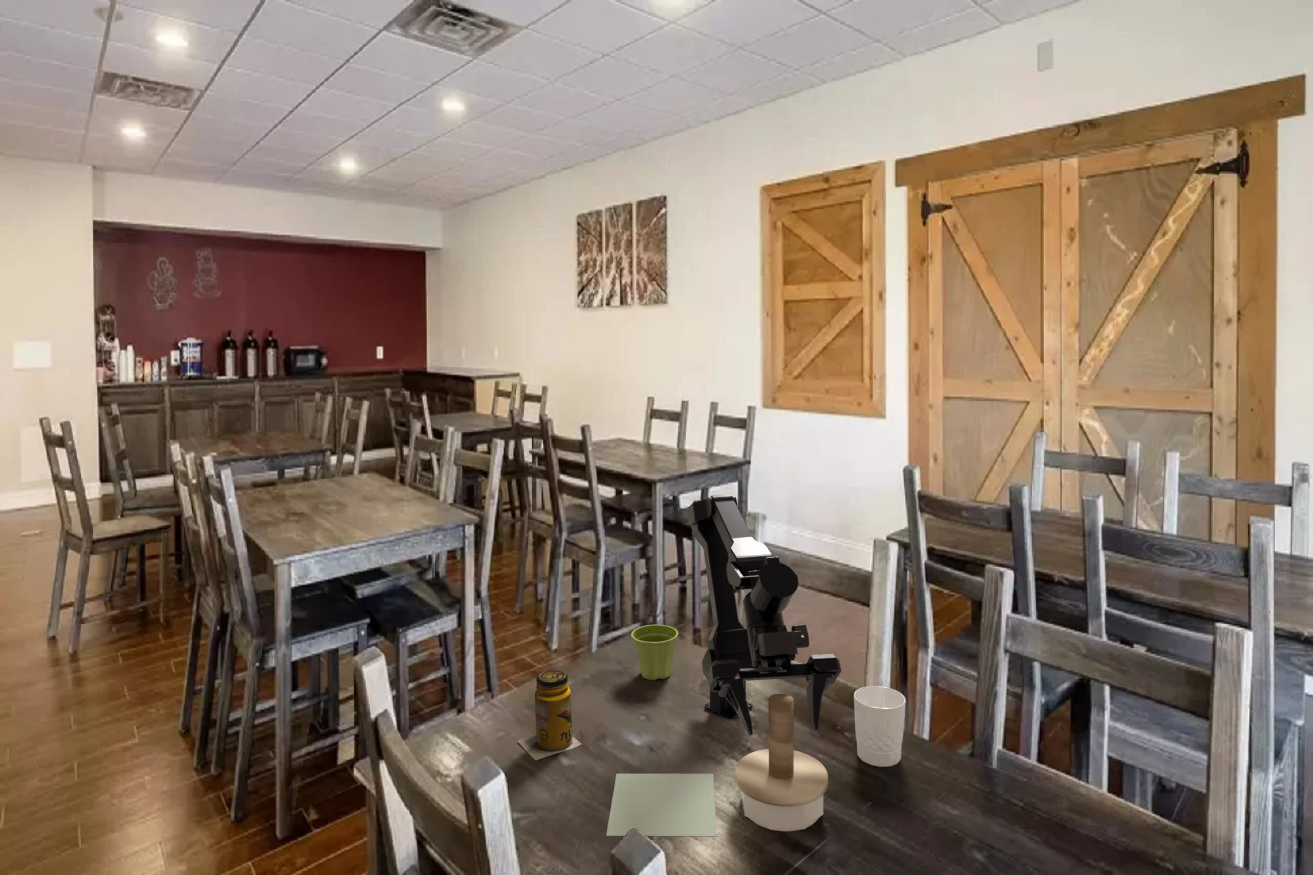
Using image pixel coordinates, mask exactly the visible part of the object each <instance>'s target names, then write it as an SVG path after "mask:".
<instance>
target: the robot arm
mask: <svg viewBox="0 0 1313 875" xmlns="http://www.w3.org/2000/svg"><path fill="white" fill-rule="evenodd" d="M738 506H739V505H738V499H737V496H735V495H733V494H730V493H729V494H715V495H714V494H713V495H710V496H708V497H706V498H705V499H700V500H699V499H697V500H693V502H692V503H691V504H690V505H689V506H688V507H687V509H686V510H687V512H686V516H687V523H688V524H689V526H691V531H692V537H693V538H695V540H696V541H697V542H698V544H699V545H700V546H701V547H702V550H703V556H704V563H705V569H706V579H707V587H708V592H709V599H710V608H711V614H712V622H713V627H712V630H711V632H710V635H709V637H708V639H707V649H706V651H705V654H704V655H703V658H702V660H701V666H702V674H703V676H704V677H705V678H706V681H708V689H709V702H707V703H705V704H704V709H706V710H709V711H711V712H713V713H715V714H718V715H720V716H723V717H724V718H727V719H734V718H736V717H737V716H738V718H739V720H740V721H741V724H742V725H743V727H744V729H745V731H746V732H747V734H748V736H749V737H751V736H753V734H754V733H753V732H754V731H753V730H754V729H753V723H752V718H751V714H750V709H752V708H753V705H754V704H753V703H752V702H749V701H747V682H746V681H765V680H766V681H767V680H779V679H780V680H785V679H797V678H798V679H799V678H805V681H806V682H807V683H808V684H807V686H806V689H805V691H806V692H805V693H806V696H807V697H806V698H807V705H808V711H809V717H810V718H809V720H810V723H811V727H812V731H813V732H815V733H816V732H817V731H818V728H819V723H820V715H821V706H822V705H821V704H822V698H823V694H824V692H825V691H826V690H828V688H829V686H831V685H833V684H834V683H835V682H836V681H837V679H838V677H839V676H840V674H841V672H842V667H841V662H840V659H839V658H838V657H837V656H836V655H835V654H834V653H826V654H824V653H823V654H810V656H809V658H808V660H807V662H806V663H795V664H794V663H792V661H795V659H796V655H798V654H799V653H798V649H803V648H809V646H810V635H809V632H808V626H807V624H794V625H792V626H791V628H790V629H791V630H790V631H788V629H787V625H786V624H785V621H784V617H783V616H784V615H783V612H784V611H785V610H786V608H787V607H788V605H789V604H790V603H791V602H790V601H791V600H792V598H793V597H794V595H795V593H796V592H797V589H798V587H799V577H798V574H796V572H795V571H794V569H792V568H791V567H790V566H788V565H787V564H785V563H782V562H781V561H780V557H779V555H778V556H773V554H772V552H771V551H770V550H769V548H768V546H766V545H765V544H763V543H761V542H759V541H757V540H755V539H754V537H753V535H752V533H751V531H750V529H749V527H748V525H747V523H746V522H745V519H744V517H743V515H742V513H741V512H740V509H739V507H738ZM746 590H750V591H748V593H746V595H745V596H744V598H743V600H742V607H743V612H744V613H743V614H744V619H745V624H746V628H745V626H743V624H742V623H741V622H740V620H739V615H738V608H737V607H738V606H737V601H736V595H735V594H736V593H735V591H746Z"/></svg>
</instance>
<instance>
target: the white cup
mask: <svg viewBox="0 0 1313 875" xmlns="http://www.w3.org/2000/svg"><path fill="white" fill-rule="evenodd" d="M853 702H854V703H853V704H854V724H855V725H854V730H855V739H856V749H857V757H858V758H859V759H860V760H861V761H862V762H863V763H865V764H868V765H871V766H876V767H879V768H884V767H886V768H887V767H892V766H895V765H897V764H898V763H900V761H901V760H902V744H903V738H904V730H905V713H906V703H907V702H906V697H905V696H904V695H903V693H901V692H900V691H898V690H895V689H894V688H891V687H885V686H881V685H867V686H863V687H860V688H858V689H856V690H855V691H854V693H853Z"/></svg>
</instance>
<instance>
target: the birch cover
mask: <svg viewBox="0 0 1313 875" xmlns="http://www.w3.org/2000/svg"><path fill="white" fill-rule="evenodd" d="M767 700H768V748H764V749H759V750H756V751H752V752H751V753H748V754H746V755H745V756H743V757H742V758H741V759H739V761H738V762H737V764H736V766H735V783H736V785H737V787H738V788H739V789H740V792H741V791H742V792H743V793H745V794H746V795H747V796H749V797H750V798H752V799H754V800H756V801H759V802H762V803H765V804H769V805H774V806H784V807H791V806H800V805H805V804H808V803H811V802H813V801H815V800H817V799H819V798H820V797H821V796H822V795H823V796H824V794H826V791H827V789H828V785H829V781H828V780H829V775H828V774H829V773H828V771H827V768H825V767H826V766H824V765H823V764H822V762H820V761H819V760H818V759H816V758H815V757H813V756H811V755H809V754H807V753H804V752H801V751H797V750H794V749H795V748H794V746H795V744H794V742H795V741H794V740H795V739H794V738H795V736H794V735H795V734H794V733H795V732H794V731H795V729H794V727H795V726H794V724H795V720H794V717H795V716H794V713H795V712H794V711H795V710H794V708H795V707H794V704H795V703H794V701H795V700H794V697H792V696H791V695H789V694H785V693H774V694H772V695H770V696H769V697H768V699H767Z"/></svg>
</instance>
